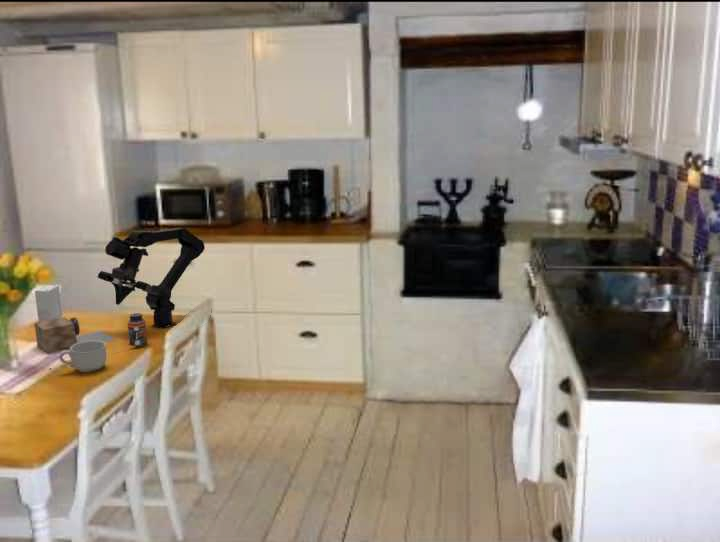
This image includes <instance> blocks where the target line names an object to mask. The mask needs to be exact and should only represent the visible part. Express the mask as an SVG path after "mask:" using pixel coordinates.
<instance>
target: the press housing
mask: <svg viewBox="0 0 720 542" xmlns="http://www.w3.org/2000/svg"><path fill="white" fill-rule="evenodd" d="M34 330H35V338H36V345H37V348H39V350H40V349H42V350H41V351H43V352H44V353H45V352H46V353H45V354H47V355H48V353H52V352H57V351H61V350H66V349H70V347H71V346H72V345H74V344H76V343H77V340H76V332H75V324H74V323H73V322H71V321H70V319H67V318H66V317H64V316H63V318H58V319H53V320H48V321H43V322H39V321H38V322H34Z"/></svg>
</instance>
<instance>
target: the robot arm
mask: <svg viewBox="0 0 720 542" xmlns="http://www.w3.org/2000/svg"><path fill="white" fill-rule="evenodd" d="M171 240H177V242H178V243H179V245H180V246H181V247H180V251H179V252H180V254H179V256H178V257H177V259H176V260H175V262H174V263H173V265H172V267H170V269H169V271H168V272H167V274H165V276H164V278H163V279H162V281H161V282H160V283H159V284H158V285H157V284H155V285H154V284H152V285H151V284H149V283H147V282H145V281H141V280H136V276H137V274H138V273H139V271H140V269H139V268H140V264H141V262H142V259H143V256H145V257H148V256H149V253H148V251H147V247H149V246H152V245H154V244H155V243H158V242H159V243H160V242H164V241H171ZM139 247H140V248H139ZM205 248H206V247H205V243H204V241H203V240H202V239H200V238H198V237H197V236H196V235H194V234H193V233H191V232H190V231H189V230H188V229H187V228H184V227H177V226H176V227H175V228H170V229H169V228H168V229H163V230H162V229H161V230H155V231H154V230H153V231H146V230H132V231H131V232H130V233H129V235H128V236H127V237H125V238H124V239H123V240H122V239H121V238H119V237H117V236H113V237H112V239H111V240H110V241H109V242H108V243H107V244H106V246H105V249H104V250H105V254H106V255H108V256H110V257H112V258H115V259H118V260H120V261H121V260H123V261H122V262H121V263H120V264H119V267H113V268H112V269H111V273H110V272H107V271H104V270H101V271H100V272H98V274H97V279H100V280H101V281H105V282H108V283H111V285H113V286H114V292H115V305H118V306H119V305H120V304H121V303H122V302H123V301H124V300H125V299H126V298H127V297H128V296H129V295H130V294H131V293H132V292H136V289H139V290H141V291H143V292H146V294H147V295H146V296H145V302H146V304H147V306H149V309H150V310H151V311H153V317H152V318H153V324H151V327H154V326H157V327H156V328H160V327H166V326H168V325H171V326H173V325H172V324H174V325H176V324H177V323H176V322H174V321H173V313H172V312H173V311H174V310H175V306H176V304H175V303H174V302H173V301H171V298H172V291H173V289H174V287H175V286H176V284H177V283H178V282H179V281H180V279H181V277H182V276H183V274H184V272H185V271H186V270H187V268H188V267H189V265H190V264H191V263H192V262H193V261H194V260H196V259H198V258H199V257H200V256H201V254H203V253H204V251H205ZM168 327H169V326H168ZM166 328H167V327H166Z"/></svg>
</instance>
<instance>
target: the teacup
mask: <svg viewBox="0 0 720 542" xmlns="http://www.w3.org/2000/svg"><path fill="white" fill-rule="evenodd" d="M106 346H107V342H102V341H96V340H91V341H83V342H79V343H76V344H74V345H72V346H71V347H70V351H68V350H64V351H62V352H61V353H59V355H58V359H59V361H60V362H61V363H62V364H64V365H68V366H70V367H71V368H74V369H75V370H77V371H78V372H82V373H92V372H91V371H93V372H96V371H95V370H97V371H98V369H99V370H101V368H102V367H104V365H105V364H106V362H107V347H106ZM65 354H66V355H68V356H69V358H70V361H68V360H65V359H64V358H63V357H64V355H65Z"/></svg>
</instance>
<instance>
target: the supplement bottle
mask: <svg viewBox="0 0 720 542" xmlns="http://www.w3.org/2000/svg"><path fill="white" fill-rule="evenodd" d="M146 325H147V324H146V320H145V319H143V315H142V313H139V312H138V313H131V314H130V315H129V320H128V322H127V331H128V343H129V345H130V346H134V347H133V348H135V349H137V348H143V347H145V346H147V345H148V337H147V328H146V327H147V326H146Z"/></svg>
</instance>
